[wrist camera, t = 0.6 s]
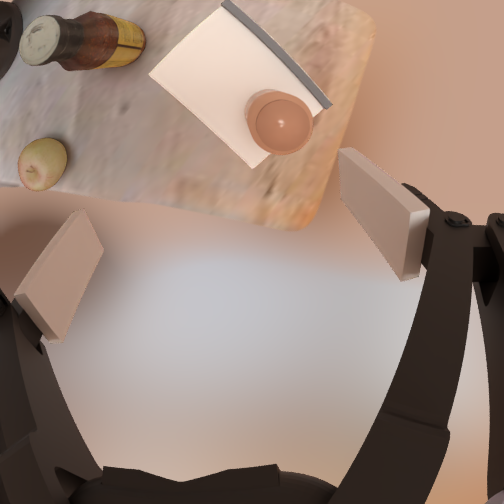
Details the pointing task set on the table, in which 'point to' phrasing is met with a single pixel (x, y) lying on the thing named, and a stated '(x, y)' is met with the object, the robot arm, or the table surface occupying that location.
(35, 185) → the fruit
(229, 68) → the white rectangular box
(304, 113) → the terracotta jar
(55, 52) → the sauce bottle
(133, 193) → the table surface
